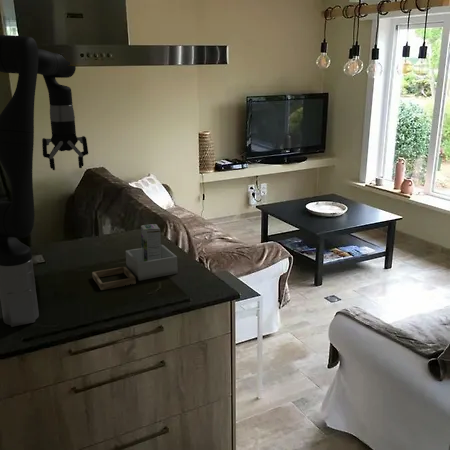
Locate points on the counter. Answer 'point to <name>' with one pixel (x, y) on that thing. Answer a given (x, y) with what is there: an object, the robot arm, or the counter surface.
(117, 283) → the socket collar
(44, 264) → the counter surface
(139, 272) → the bin
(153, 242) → the syrup box
